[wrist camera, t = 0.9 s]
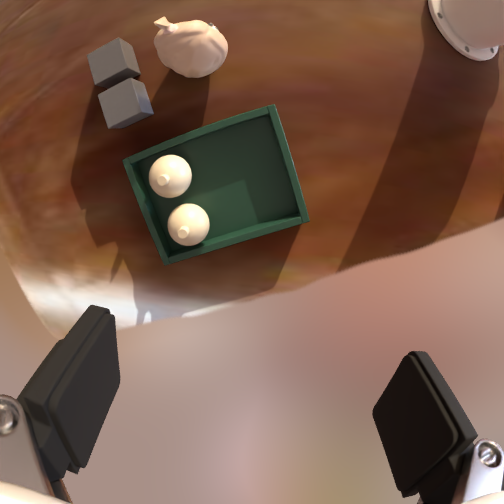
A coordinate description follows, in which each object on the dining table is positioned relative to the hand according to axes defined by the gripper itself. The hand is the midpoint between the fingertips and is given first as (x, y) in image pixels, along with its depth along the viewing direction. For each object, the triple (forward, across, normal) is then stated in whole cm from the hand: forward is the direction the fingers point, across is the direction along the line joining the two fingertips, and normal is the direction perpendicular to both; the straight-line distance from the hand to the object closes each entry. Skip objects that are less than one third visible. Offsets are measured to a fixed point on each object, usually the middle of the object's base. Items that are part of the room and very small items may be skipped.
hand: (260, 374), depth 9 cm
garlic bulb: (+27, +9, -15) cm, 32 cm away
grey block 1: (+26, +18, -13) cm, 34 cm away
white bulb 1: (+26, +9, -1) cm, 27 cm away
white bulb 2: (+26, +6, +4) cm, 27 cm away
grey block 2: (+26, +15, -8) cm, 32 cm away
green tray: (+26, +4, -1) cm, 27 cm away
